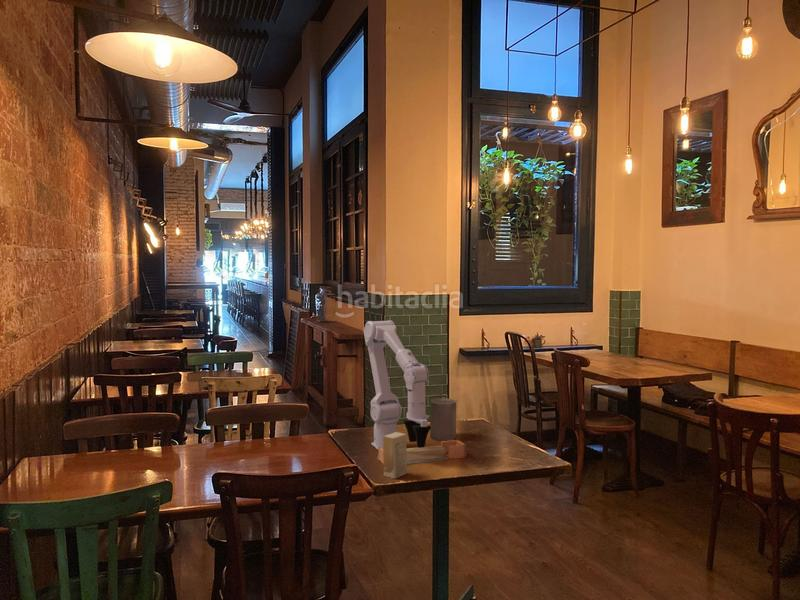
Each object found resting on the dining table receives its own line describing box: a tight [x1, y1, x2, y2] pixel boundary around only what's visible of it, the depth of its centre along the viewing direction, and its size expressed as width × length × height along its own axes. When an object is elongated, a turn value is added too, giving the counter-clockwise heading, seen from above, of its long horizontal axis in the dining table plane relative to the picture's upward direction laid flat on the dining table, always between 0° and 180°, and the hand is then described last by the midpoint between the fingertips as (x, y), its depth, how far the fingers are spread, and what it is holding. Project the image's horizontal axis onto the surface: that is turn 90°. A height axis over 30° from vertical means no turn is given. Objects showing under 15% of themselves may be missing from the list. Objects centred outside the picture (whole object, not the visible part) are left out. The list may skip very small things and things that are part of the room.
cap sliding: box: [377, 447, 384, 465], centre depth 200 cm, size 7×6×4 cm
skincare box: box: [383, 431, 408, 480], centre depth 185 cm, size 6×4×12 cm
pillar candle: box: [429, 396, 457, 441], centre depth 230 cm, size 10×10×15 cm
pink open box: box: [440, 439, 467, 460], centre depth 207 cm, size 7×6×4 cm
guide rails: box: [376, 455, 449, 465], centre depth 202 cm, size 9×21×1 cm, turn 109°
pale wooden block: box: [407, 444, 446, 461], centre depth 203 cm, size 4×14×4 cm, turn 109°
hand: (416, 444), depth 202 cm, fingers open, 7 cm apart
